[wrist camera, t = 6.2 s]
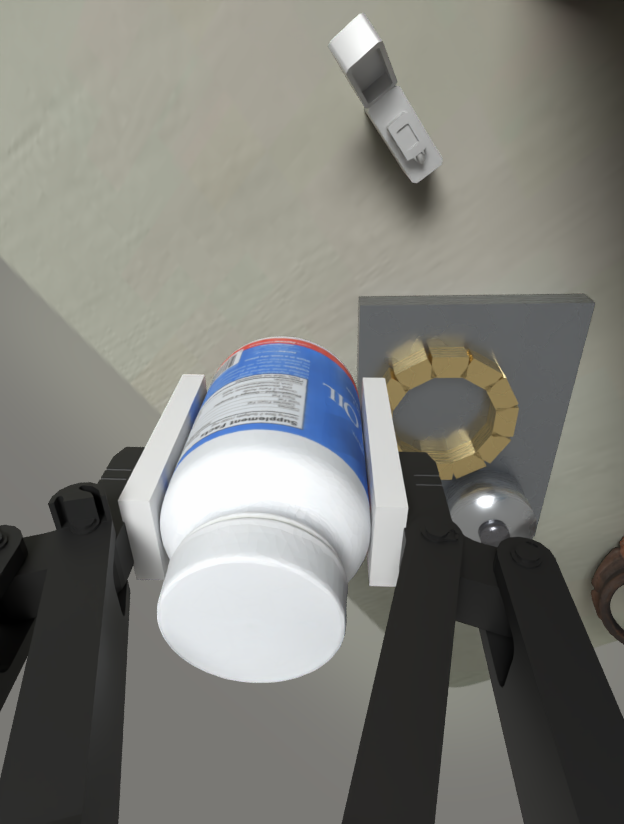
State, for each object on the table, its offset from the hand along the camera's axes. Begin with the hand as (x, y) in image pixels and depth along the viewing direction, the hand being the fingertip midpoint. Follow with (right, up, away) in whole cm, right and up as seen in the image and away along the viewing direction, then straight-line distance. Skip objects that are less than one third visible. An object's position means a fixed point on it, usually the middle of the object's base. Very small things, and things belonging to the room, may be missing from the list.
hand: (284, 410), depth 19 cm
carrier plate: (+11, -1, +20) cm, 23 cm away
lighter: (+5, +16, +10) cm, 20 cm away
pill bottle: (0, 0, +1) cm, 1 cm away
